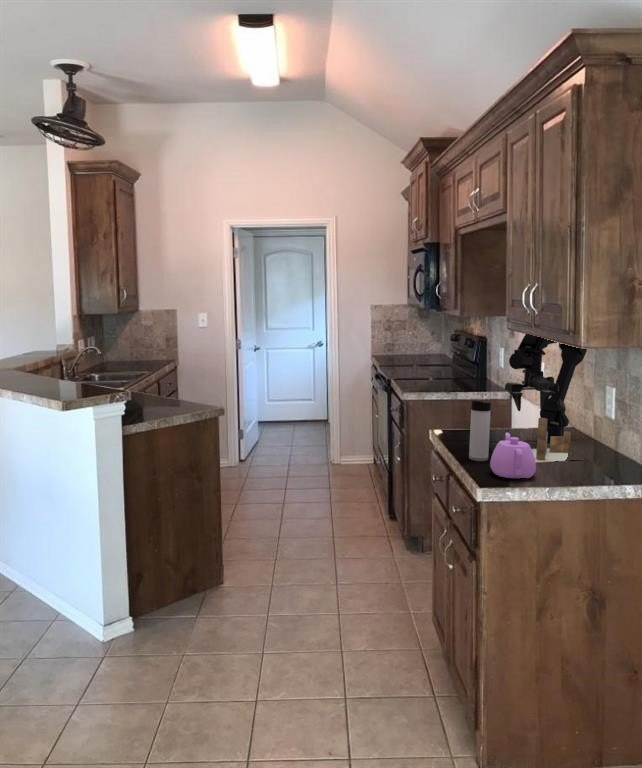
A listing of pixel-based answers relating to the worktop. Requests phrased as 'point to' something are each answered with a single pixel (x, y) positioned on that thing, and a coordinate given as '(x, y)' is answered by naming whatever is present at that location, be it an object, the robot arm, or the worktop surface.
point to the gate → (541, 438)
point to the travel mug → (479, 431)
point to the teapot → (513, 459)
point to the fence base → (560, 443)
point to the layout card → (551, 456)
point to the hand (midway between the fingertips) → (530, 410)
